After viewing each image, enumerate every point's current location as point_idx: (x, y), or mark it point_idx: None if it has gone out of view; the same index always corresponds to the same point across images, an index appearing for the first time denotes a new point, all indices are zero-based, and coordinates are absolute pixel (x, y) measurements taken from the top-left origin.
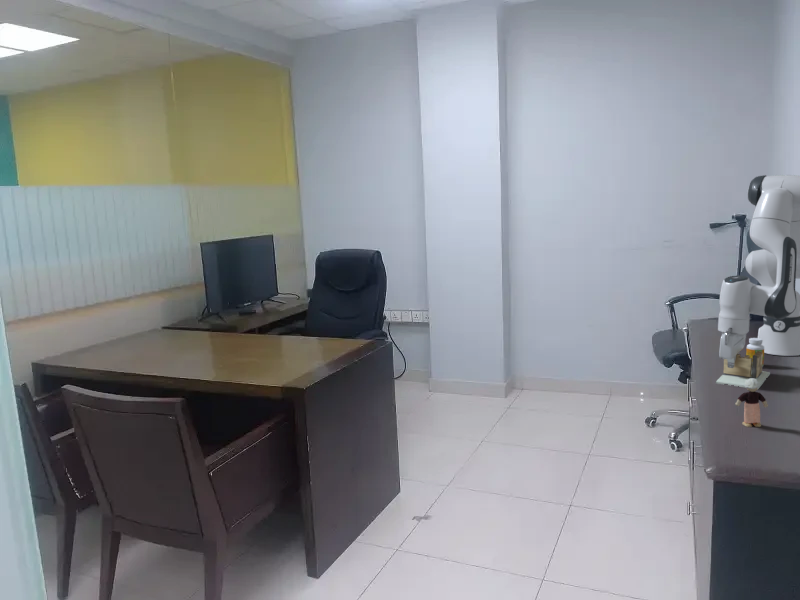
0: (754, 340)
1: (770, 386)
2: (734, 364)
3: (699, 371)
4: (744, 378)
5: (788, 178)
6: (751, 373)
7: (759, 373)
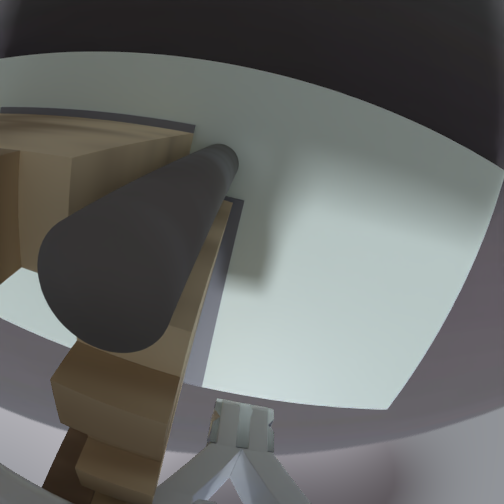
0: None
1: (403, 49)
2: (229, 422)
3: None
4: (259, 250)
5: None
6: None
7: (71, 117)
